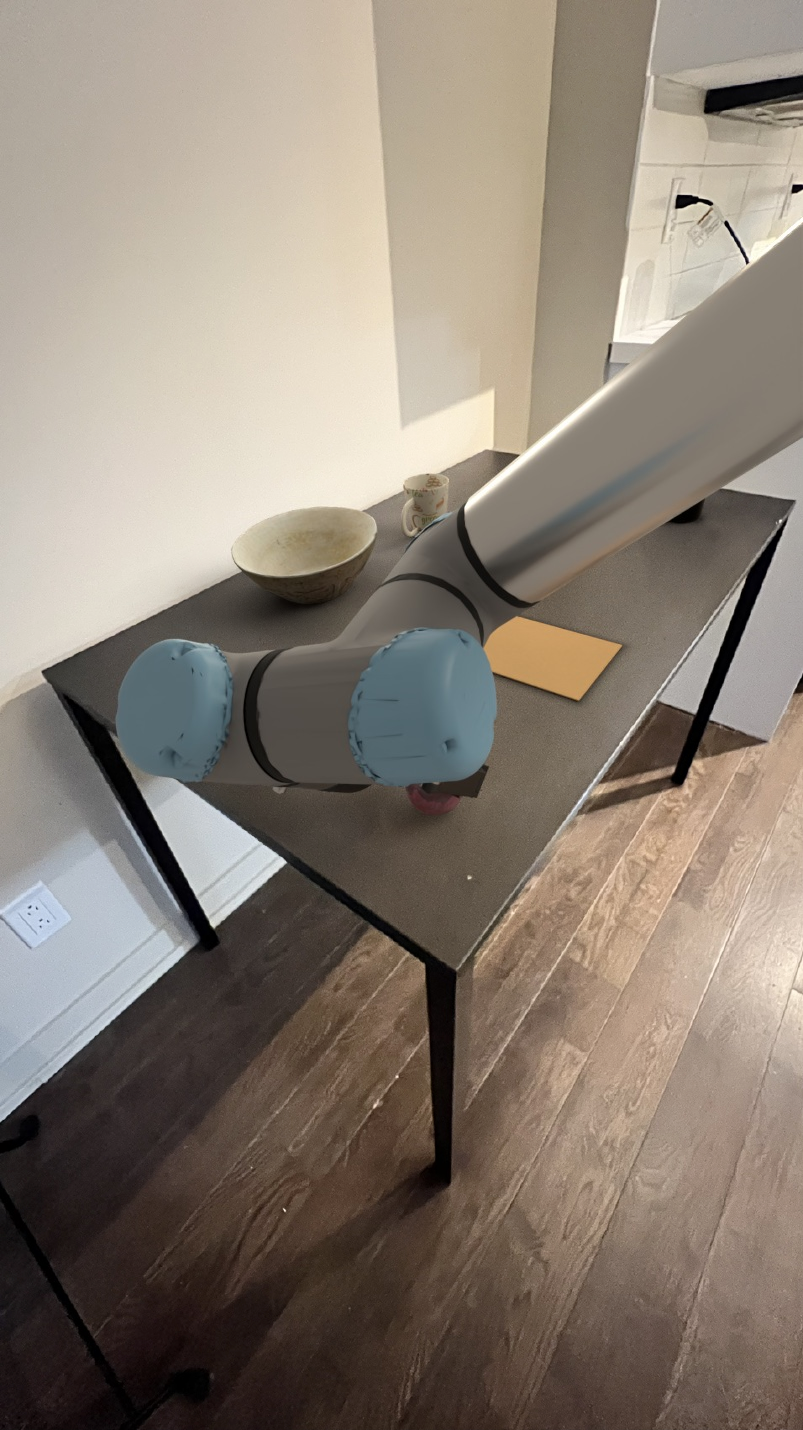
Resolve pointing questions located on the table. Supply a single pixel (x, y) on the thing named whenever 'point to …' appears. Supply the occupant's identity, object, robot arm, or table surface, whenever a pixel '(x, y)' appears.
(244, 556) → the bowl
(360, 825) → the table surface
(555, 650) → the cork mat
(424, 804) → the vegetable
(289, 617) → the table surface
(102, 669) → the table surface
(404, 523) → the mug
